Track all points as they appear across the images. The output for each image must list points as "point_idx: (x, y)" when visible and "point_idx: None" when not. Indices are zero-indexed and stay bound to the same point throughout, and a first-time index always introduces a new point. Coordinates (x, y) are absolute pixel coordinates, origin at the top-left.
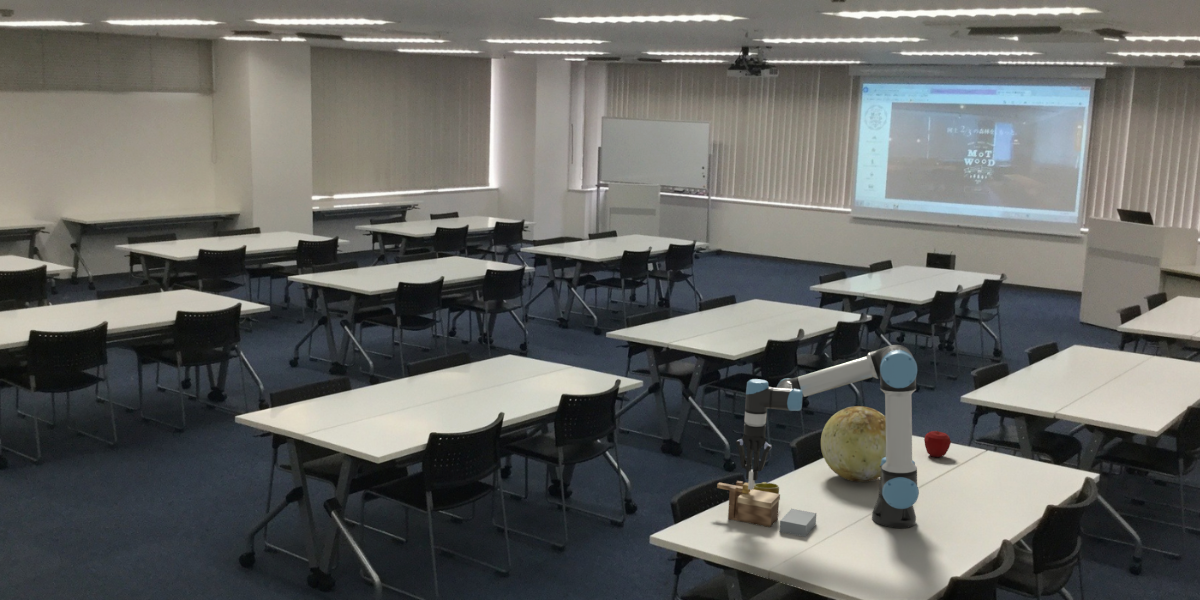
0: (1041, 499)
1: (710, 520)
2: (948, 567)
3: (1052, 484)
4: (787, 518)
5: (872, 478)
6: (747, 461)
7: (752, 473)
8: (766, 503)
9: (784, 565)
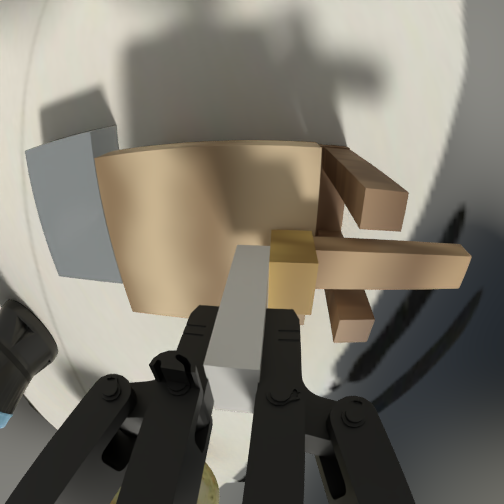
0: (34, 401)
1: (404, 102)
2: None
3: (57, 424)
4: (81, 174)
5: None
6: (286, 500)
7: (214, 351)
8: (119, 153)
9: None
